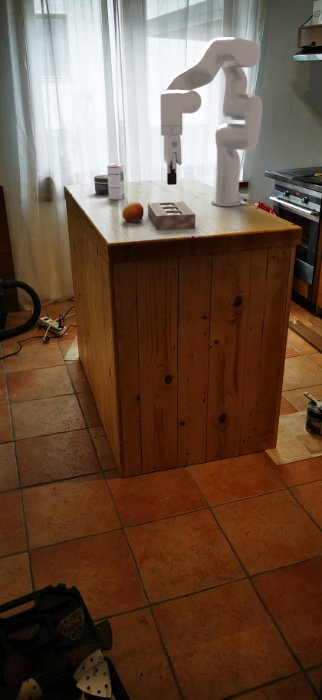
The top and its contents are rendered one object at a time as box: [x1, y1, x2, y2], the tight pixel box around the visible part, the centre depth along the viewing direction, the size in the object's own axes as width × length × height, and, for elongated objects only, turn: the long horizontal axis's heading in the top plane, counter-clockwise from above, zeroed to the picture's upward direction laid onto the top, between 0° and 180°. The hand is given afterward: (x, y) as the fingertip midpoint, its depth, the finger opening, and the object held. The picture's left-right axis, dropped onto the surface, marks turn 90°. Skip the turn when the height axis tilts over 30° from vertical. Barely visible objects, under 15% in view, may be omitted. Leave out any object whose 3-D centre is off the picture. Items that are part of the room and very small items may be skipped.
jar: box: [93, 174, 109, 196], centre depth 257 cm, size 10×10×8 cm
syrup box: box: [106, 162, 125, 200], centre depth 246 cm, size 6×6×14 cm
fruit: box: [122, 202, 145, 223], centre depth 209 cm, size 8×8×8 cm
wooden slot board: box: [147, 201, 196, 231], centre depth 208 cm, size 14×22×5 cm, turn 9°
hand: (171, 184), depth 204 cm, fingers closed
